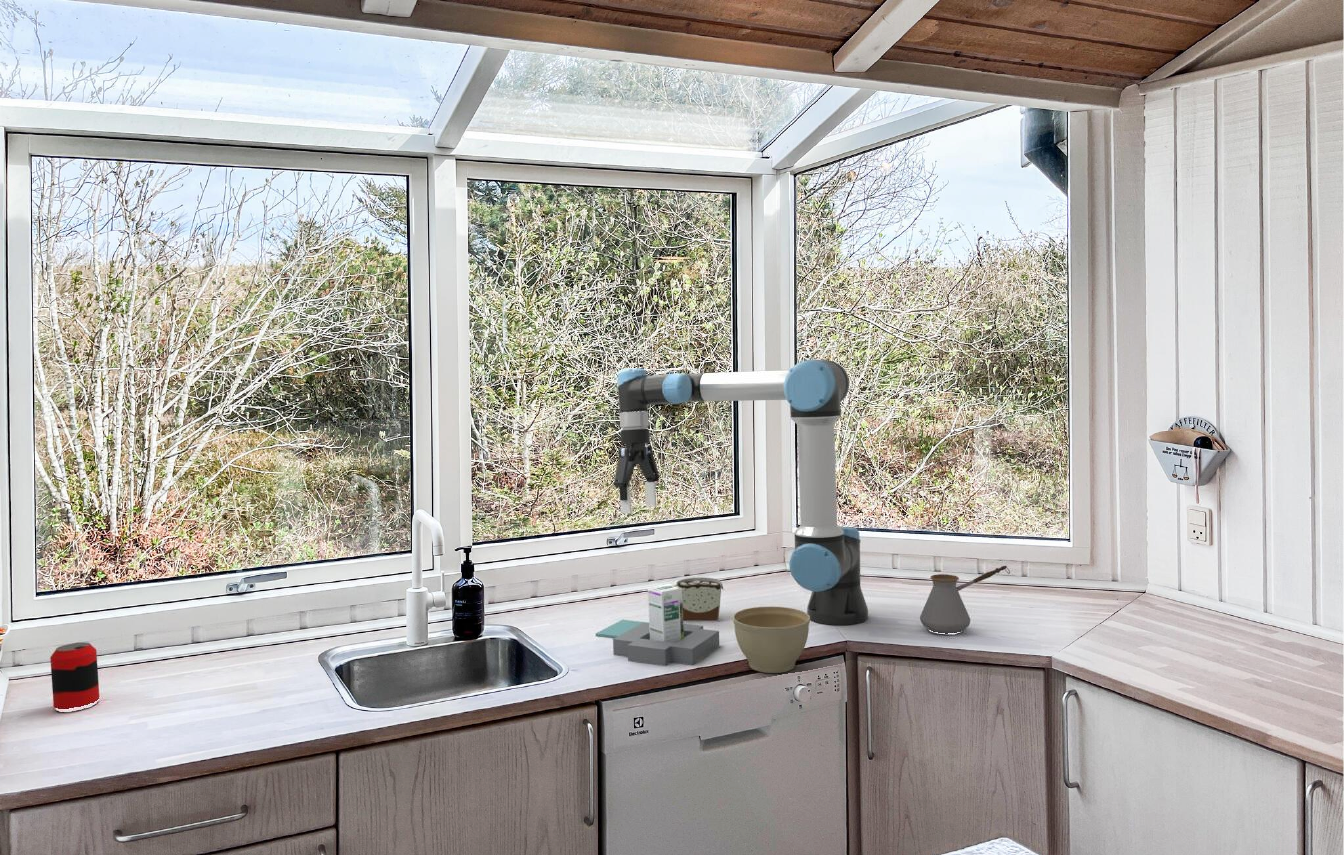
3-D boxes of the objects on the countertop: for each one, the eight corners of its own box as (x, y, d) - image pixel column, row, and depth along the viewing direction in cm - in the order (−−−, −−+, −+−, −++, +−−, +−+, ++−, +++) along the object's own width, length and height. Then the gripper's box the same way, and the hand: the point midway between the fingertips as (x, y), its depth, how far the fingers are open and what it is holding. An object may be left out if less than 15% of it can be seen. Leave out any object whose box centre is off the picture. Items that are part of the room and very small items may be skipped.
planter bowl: (731, 679, 181) (730, 626, 181) (736, 654, 197) (735, 605, 197) (811, 680, 179) (810, 627, 178) (810, 655, 195) (809, 606, 194)
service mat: (668, 627, 220) (668, 624, 220) (643, 641, 209) (643, 639, 209) (622, 621, 226) (622, 619, 226) (595, 635, 214) (595, 633, 214)
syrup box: (664, 655, 197) (662, 591, 197) (649, 649, 202) (647, 586, 201) (684, 650, 201) (683, 587, 200) (669, 644, 206) (667, 582, 205)
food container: (725, 615, 230) (724, 576, 229) (724, 621, 224) (723, 582, 223) (677, 615, 231) (676, 577, 231) (675, 621, 225) (674, 582, 224)
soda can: (71, 715, 171) (67, 653, 171) (44, 710, 174) (40, 650, 174) (108, 701, 178) (104, 642, 178) (82, 697, 181) (78, 639, 181)
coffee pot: (929, 638, 204) (928, 574, 204) (913, 625, 216) (912, 564, 215) (1020, 634, 206) (1019, 570, 205) (999, 621, 217) (998, 560, 216)
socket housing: (723, 642, 206) (723, 627, 206) (687, 668, 188) (686, 652, 188) (649, 633, 215) (648, 619, 214) (607, 657, 197) (607, 642, 197)
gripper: (644, 427, 245) (648, 503, 245) (597, 431, 222) (602, 515, 223) (668, 425, 241) (673, 503, 242) (623, 430, 219) (628, 515, 220)
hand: (639, 509), depth 232 cm, fingers open, 13 cm apart
